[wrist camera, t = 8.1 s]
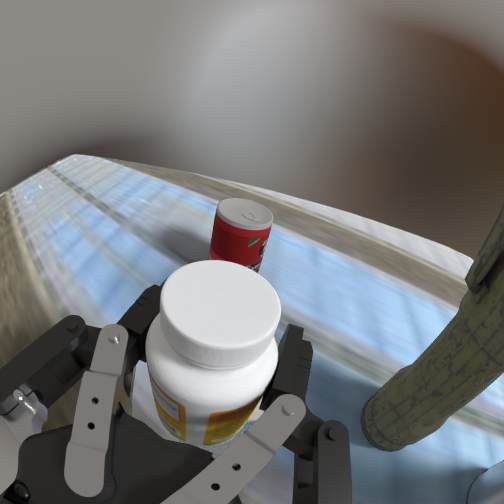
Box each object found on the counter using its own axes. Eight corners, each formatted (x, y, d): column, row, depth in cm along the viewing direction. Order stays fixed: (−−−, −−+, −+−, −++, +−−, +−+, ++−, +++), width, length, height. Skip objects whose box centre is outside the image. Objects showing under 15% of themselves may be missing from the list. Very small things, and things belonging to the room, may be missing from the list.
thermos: (422, 456, 21) (633, 212, 1) (344, 444, 23) (583, 116, 3) (423, 401, 28) (581, 175, 8) (354, 383, 30) (515, 103, 10)
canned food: (244, 297, 39) (261, 232, 33) (197, 274, 41) (205, 209, 35) (263, 270, 45) (281, 211, 39) (221, 251, 47) (232, 192, 41)
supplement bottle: (251, 380, 17) (300, 265, 11) (240, 456, 12) (304, 385, 7) (170, 361, 16) (171, 234, 11) (146, 433, 12) (108, 335, 6)
